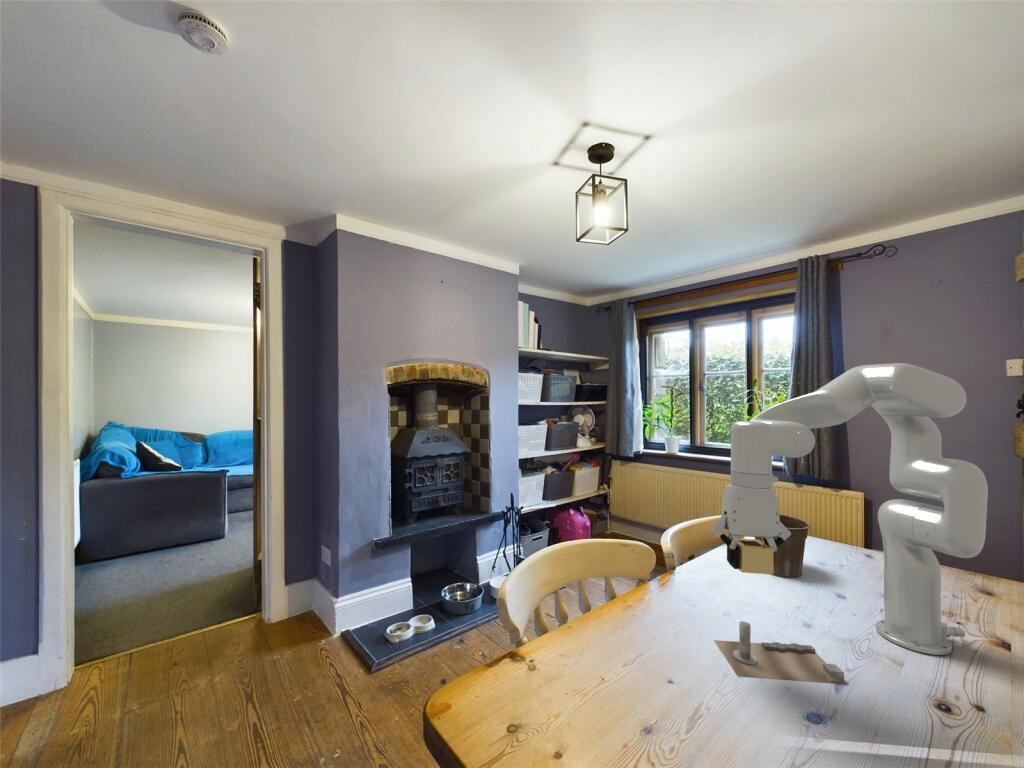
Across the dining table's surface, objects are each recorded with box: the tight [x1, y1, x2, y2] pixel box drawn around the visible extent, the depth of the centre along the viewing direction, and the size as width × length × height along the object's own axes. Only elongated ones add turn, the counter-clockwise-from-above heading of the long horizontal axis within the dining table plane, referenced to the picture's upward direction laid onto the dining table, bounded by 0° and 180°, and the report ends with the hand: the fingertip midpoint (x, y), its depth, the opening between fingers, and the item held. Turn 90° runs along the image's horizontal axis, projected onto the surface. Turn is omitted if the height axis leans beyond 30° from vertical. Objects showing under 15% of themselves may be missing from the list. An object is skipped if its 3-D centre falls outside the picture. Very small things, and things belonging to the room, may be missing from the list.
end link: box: [736, 538, 774, 575], centre depth 87 cm, size 6×6×5 cm
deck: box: [713, 620, 848, 685], centre depth 86 cm, size 20×12×8 cm, turn 85°
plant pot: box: [754, 513, 811, 579], centre depth 135 cm, size 16×16×16 cm
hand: (750, 566), depth 87 cm, fingers closed on end link, 6 cm apart
